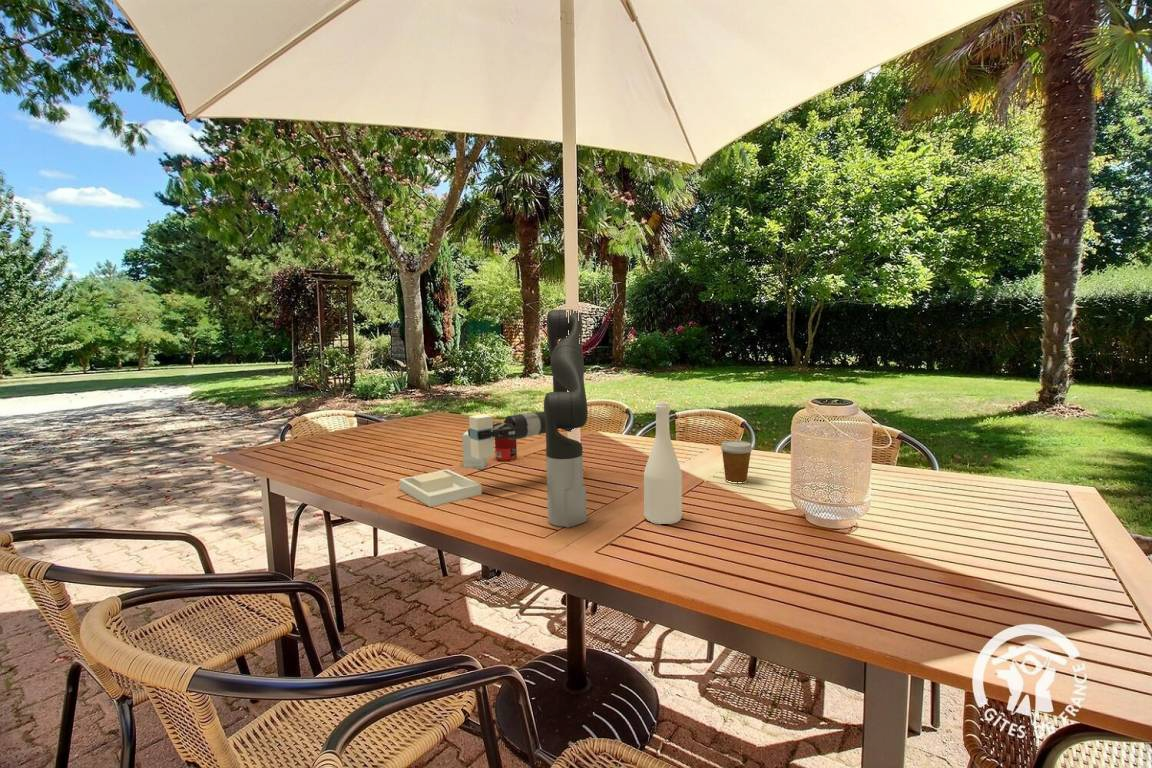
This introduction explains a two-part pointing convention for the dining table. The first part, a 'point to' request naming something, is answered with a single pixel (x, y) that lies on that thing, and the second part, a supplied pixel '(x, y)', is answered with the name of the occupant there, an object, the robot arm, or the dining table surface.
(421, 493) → the tray
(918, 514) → the dining table surface
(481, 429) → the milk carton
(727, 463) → the brown clear cup
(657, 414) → the wine bottle
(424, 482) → the cream rectangular block
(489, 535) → the dining table surface
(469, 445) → the supplement box
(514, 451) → the canned food
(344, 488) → the dining table surface
